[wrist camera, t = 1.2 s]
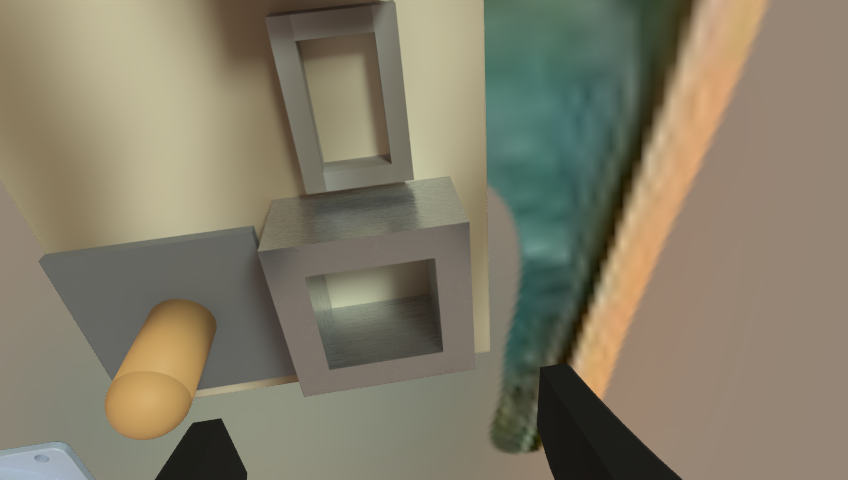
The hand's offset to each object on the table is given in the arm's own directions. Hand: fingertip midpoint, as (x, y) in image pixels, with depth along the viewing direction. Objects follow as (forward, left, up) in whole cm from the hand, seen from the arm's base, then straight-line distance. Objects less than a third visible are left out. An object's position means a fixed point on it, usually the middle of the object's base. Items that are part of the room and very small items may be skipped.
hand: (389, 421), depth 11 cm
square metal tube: (0, 0, -7) cm, 7 cm away
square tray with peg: (-7, -1, -8) cm, 10 cm away
